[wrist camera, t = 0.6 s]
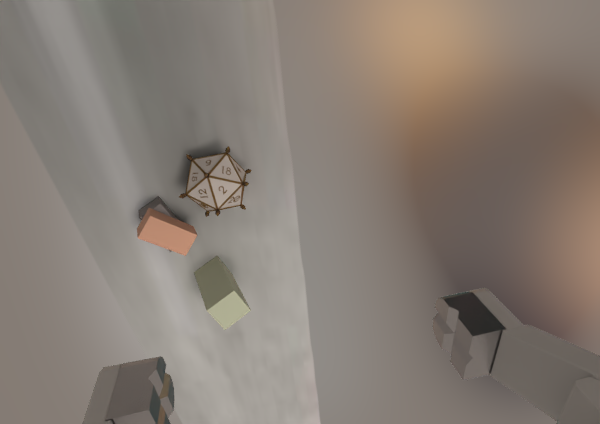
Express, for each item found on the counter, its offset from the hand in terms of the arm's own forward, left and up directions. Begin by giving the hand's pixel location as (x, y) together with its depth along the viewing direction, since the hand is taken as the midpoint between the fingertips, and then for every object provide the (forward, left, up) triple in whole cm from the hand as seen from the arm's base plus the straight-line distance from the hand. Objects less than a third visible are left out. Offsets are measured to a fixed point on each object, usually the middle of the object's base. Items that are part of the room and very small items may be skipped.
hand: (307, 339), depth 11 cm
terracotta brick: (+8, -7, -38) cm, 39 cm away
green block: (+19, -7, -41) cm, 46 cm away
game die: (+7, +1, -41) cm, 41 cm away
